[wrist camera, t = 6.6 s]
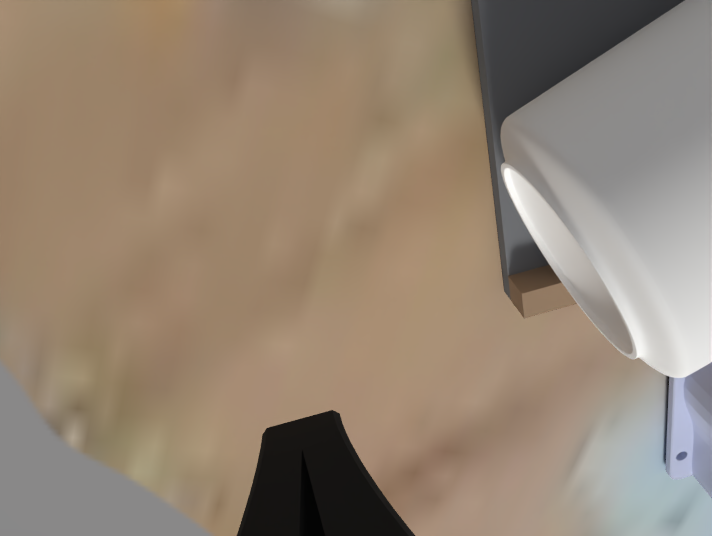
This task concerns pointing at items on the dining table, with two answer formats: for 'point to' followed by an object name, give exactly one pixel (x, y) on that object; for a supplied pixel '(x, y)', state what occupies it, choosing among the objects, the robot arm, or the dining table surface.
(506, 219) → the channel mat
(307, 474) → the robot arm
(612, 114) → the beverage can
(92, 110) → the dining table surface
